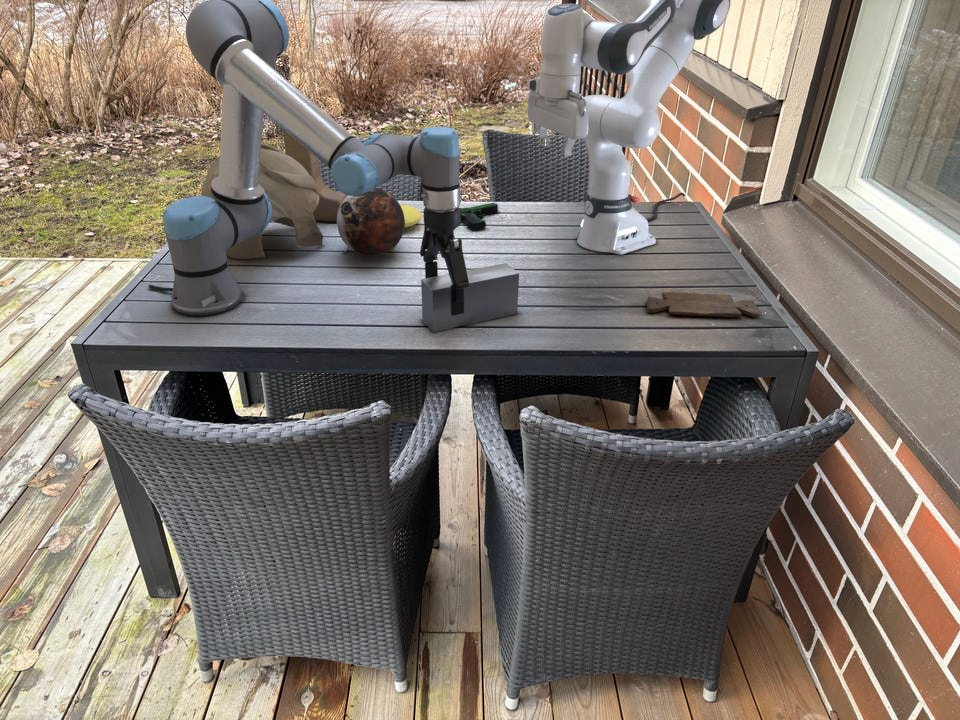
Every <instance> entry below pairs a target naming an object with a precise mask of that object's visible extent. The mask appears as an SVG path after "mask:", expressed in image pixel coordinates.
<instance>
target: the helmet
mask: <svg viewBox="0 0 960 720" xmlns="http://www.w3.org/2000/svg"><path fill="white" fill-rule="evenodd" d="M217 136H219V137H221V133H217ZM219 162H220V157H218V158H217V159H216V160H215V161H213V163H212V164H210V166H209V168H208V170H207V173H206V176H205V178H204V179H203V181H202V186H201V192H200V196H206V197H211V183H212V180H213V179H215V178H216V177H218V176H219ZM258 182H259V183H260V184H261V185H262V186H263V187H264V192H265V193H266V195H267V196H268V198H267V200H268V201H270V203H271V208H272V216H271V220H270V222H269V224H271V223H272V222H274V223H277V224H279V225H283V226H286V227H290V228H294V232H295V246H296V247H299V248H313V247H317V246H318V247H323V241H324V235H323V233H322V231H321V230H320V228H319V225H318V223H317V221H316V220H315V219H314V216H313V212H314V210H315V209H316V208H317V206H318V204H319V200H320V198H319V195H318V193H317V188H316V185H315V182H314V179H313V178H312V176H310V175H309V173H308V172H307V171H306V169H305V168H304V167H303V166H302V165H301V164H300V163H299V162H297V161H296V160H295V159H293V158H292V157H290V156H288V155H286V153H285V152H283V151H281V150H280V149H278V148H276V147H274V146H272V145H269V144H266V143H261V152H260V164H259V176H258ZM263 232H264V230H263V231H261V232H260V233H259V234H258V235H256V236H254V237H252V238H249V239H247V240H245V241H243V242H241V243H239V244H237V245H235V246H233V247H231V248H229V249H227V250H226V256H227V257H229V258H231V259H236V260H237V259H239V260H244V259H256V258H257V259H258V258H265V257H266V255H265V253H264V248H263V244H262V242H263V241H262V236H263Z"/></svg>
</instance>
